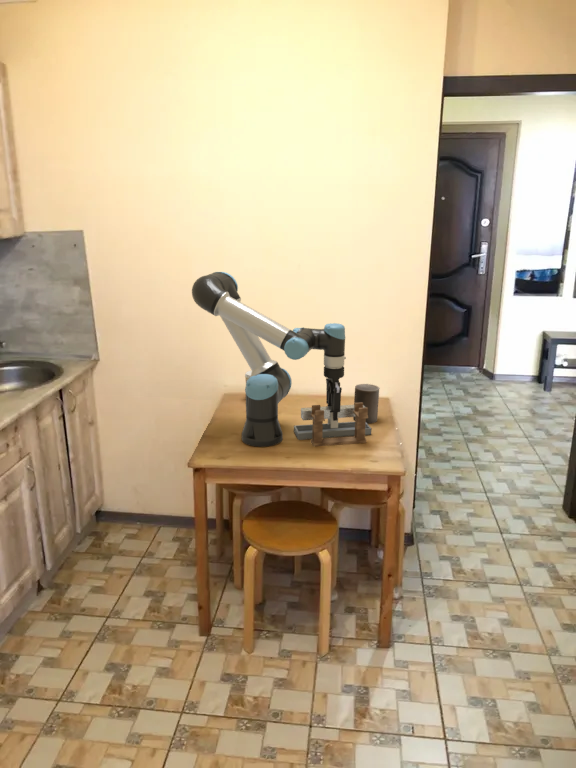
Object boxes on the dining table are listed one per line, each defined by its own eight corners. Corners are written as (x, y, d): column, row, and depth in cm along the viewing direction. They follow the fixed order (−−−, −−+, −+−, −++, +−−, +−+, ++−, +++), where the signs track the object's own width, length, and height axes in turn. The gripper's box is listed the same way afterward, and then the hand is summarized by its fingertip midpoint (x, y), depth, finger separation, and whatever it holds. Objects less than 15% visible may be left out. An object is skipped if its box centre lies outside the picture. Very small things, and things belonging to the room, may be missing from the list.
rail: (302, 420, 227) (302, 411, 226) (300, 417, 230) (300, 408, 229) (365, 416, 231) (365, 407, 230) (362, 412, 235) (362, 404, 234)
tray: (298, 439, 227) (298, 433, 226) (293, 431, 234) (293, 425, 233) (371, 434, 232) (371, 428, 231) (364, 426, 239) (364, 420, 238)
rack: (313, 447, 220) (314, 411, 215) (309, 440, 226) (310, 405, 222) (367, 443, 223) (369, 408, 219) (362, 437, 229) (363, 402, 225)
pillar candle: (355, 423, 242) (356, 387, 238) (351, 415, 252) (353, 380, 247) (379, 424, 243) (381, 388, 238) (375, 415, 252) (377, 380, 247)
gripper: (350, 371, 218) (348, 433, 225) (338, 359, 233) (336, 417, 240) (329, 372, 216) (328, 434, 223) (318, 360, 232) (318, 418, 239)
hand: (332, 425), depth 232 cm, fingers closed on rail, 4 cm apart
